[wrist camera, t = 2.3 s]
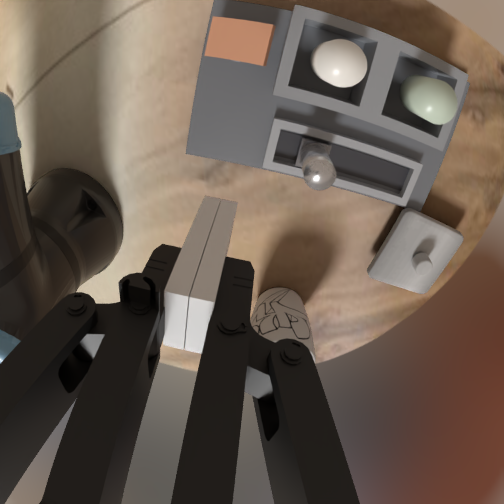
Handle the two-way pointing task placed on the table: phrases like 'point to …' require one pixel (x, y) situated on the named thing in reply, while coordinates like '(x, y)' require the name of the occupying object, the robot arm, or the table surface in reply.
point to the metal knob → (315, 163)
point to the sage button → (429, 98)
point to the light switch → (415, 252)
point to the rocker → (240, 40)
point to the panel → (323, 106)
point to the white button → (339, 62)
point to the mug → (282, 317)
